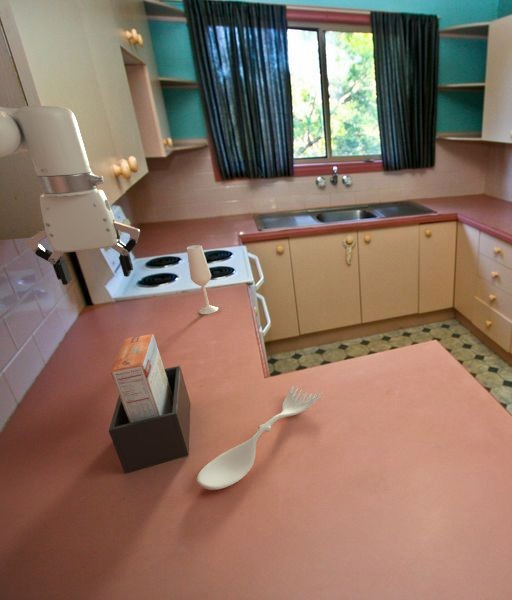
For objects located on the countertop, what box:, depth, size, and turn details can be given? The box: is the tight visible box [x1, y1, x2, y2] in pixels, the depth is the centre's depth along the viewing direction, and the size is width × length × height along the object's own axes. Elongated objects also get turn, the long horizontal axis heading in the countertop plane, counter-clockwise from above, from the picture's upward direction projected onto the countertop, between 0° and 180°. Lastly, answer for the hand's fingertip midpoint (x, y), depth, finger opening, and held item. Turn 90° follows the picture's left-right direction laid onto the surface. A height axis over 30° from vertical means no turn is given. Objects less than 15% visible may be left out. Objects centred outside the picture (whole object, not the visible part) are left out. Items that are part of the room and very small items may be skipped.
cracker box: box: [110, 333, 174, 423], centre depth 90 cm, size 14×6×21 cm, turn 21°
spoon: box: [196, 384, 323, 491], centre depth 91 cm, size 9×32×4 cm, turn 155°
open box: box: [108, 365, 191, 474], centre depth 92 cm, size 12×20×11 cm, turn 24°
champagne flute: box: [186, 244, 219, 315], centre depth 151 cm, size 7×7×24 cm
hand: (98, 278), depth 80 cm, fingers open, 9 cm apart
